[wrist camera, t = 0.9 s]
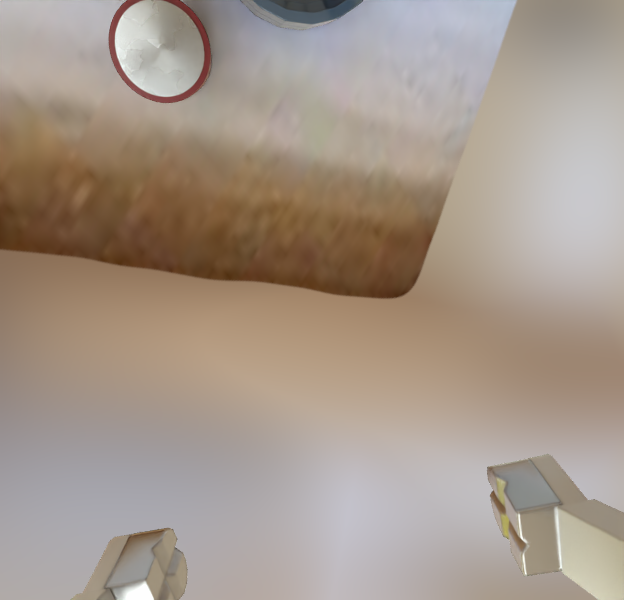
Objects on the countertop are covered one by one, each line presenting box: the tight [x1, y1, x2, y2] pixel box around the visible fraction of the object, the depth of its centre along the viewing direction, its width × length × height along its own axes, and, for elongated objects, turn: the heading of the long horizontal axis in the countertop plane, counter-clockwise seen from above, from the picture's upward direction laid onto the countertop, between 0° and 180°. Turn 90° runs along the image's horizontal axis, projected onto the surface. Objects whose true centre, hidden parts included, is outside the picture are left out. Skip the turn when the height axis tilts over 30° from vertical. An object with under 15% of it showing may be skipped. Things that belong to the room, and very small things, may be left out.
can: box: [109, 0, 211, 103], centre depth 35 cm, size 6×6×12 cm
